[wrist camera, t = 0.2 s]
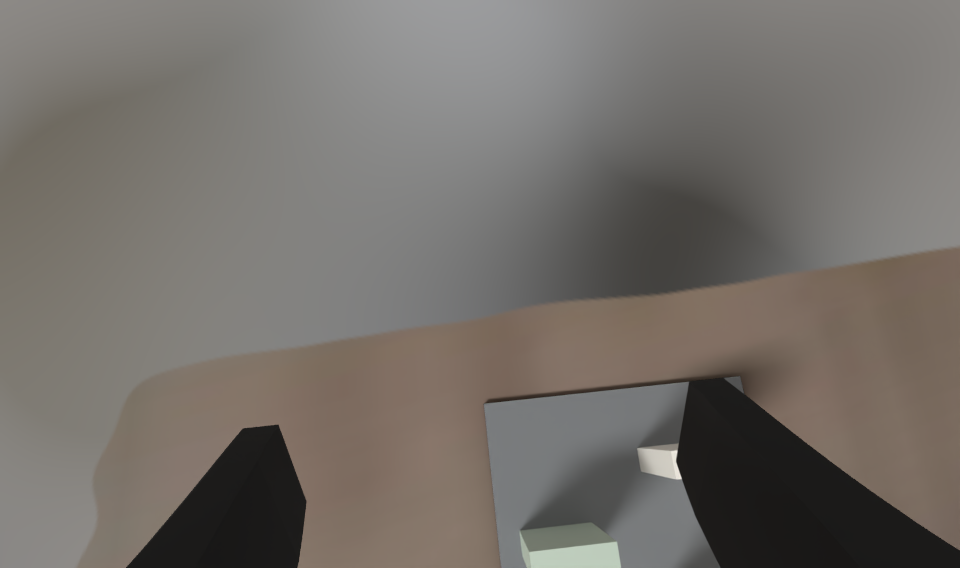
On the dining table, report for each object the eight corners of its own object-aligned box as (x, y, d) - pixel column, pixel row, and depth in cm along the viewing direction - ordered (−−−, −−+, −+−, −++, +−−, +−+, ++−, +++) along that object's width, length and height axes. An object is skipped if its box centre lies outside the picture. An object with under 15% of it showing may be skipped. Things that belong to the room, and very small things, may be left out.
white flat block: (710, 463, 39) (760, 469, 32) (641, 471, 39) (676, 479, 32) (705, 440, 39) (753, 441, 32) (636, 448, 39) (670, 451, 32)
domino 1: (595, 547, 37) (621, 572, 31) (522, 556, 37) (532, 583, 30) (591, 522, 38) (616, 541, 31) (519, 530, 38) (529, 551, 31)
